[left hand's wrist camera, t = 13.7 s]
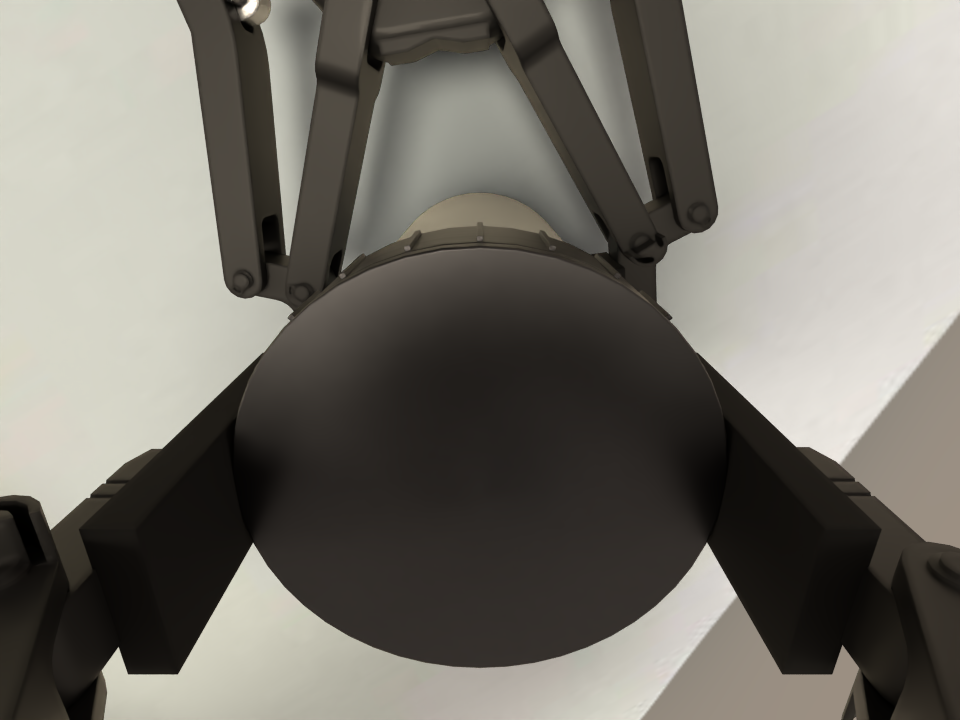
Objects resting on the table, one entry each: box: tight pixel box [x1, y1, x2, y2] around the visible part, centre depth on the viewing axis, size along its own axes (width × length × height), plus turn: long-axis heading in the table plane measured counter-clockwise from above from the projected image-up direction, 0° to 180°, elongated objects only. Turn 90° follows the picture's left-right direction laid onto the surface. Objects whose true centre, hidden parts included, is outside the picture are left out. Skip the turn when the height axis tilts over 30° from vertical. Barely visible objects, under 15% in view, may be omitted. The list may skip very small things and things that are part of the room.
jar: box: [397, 193, 563, 241], centre depth 18 cm, size 8×8×16 cm
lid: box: [232, 222, 728, 668], centre depth 11 cm, size 9×9×2 cm
